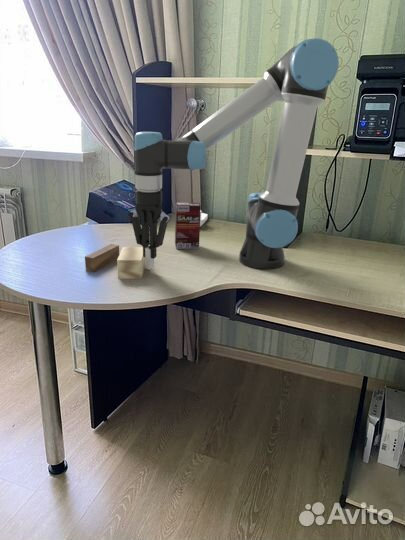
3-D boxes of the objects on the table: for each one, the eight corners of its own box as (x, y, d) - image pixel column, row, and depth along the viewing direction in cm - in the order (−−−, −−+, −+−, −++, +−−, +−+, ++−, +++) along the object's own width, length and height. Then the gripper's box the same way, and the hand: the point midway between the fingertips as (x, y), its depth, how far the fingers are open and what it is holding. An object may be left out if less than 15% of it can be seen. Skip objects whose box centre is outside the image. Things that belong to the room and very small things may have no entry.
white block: (198, 229, 174) (198, 214, 172) (177, 227, 176) (178, 212, 173) (208, 218, 192) (209, 204, 190) (190, 216, 194) (190, 202, 191)
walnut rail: (119, 258, 139) (119, 245, 137) (94, 272, 126) (93, 258, 125) (111, 256, 140) (111, 243, 138) (85, 270, 128) (84, 256, 126)
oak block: (145, 264, 134) (145, 247, 132) (142, 279, 123) (141, 260, 121) (123, 264, 134) (122, 246, 132) (118, 279, 123) (117, 260, 121)
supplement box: (175, 249, 149) (176, 205, 143) (174, 245, 153) (175, 202, 147) (199, 249, 150) (201, 205, 144) (198, 244, 154) (199, 202, 149)
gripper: (175, 189, 119) (174, 267, 128) (135, 185, 123) (137, 260, 132) (163, 194, 112) (163, 275, 121) (121, 189, 117) (124, 268, 125)
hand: (149, 267), depth 126 cm, fingers closed
